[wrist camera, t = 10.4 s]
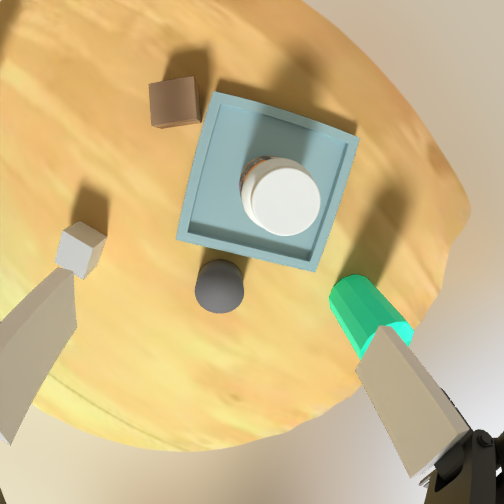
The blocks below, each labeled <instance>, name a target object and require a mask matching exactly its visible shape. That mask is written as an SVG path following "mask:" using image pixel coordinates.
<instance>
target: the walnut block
mask: <svg viewBox="0 0 504 504" xmlns="http://www.w3.org/2000/svg"><path fill="white" fill-rule="evenodd" d="M149 97H150V111H151V124H152V126H154V127H157V128H161V129H163V128H169V127H175V126H182V125H189V124H196V123H201V114H200V102H199V89H198V84H197V82H196V80H195V78H194V76H190V77H184V78H178V79H172V80H166V81H161V82H156V83H151V84H149Z"/></svg>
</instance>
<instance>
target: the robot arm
mask: <svg viewBox="0 0 504 504" xmlns="http://www.w3.org/2000/svg"><path fill="white" fill-rule="evenodd" d="M76 328H77V322H76V311H75V297H74V273H73V271H70V270H67V269H63V268H59V267H58V268H57V269H55V270H54V271H53V272H52V273H51V274H50V275H49V276H48V277H46V278H45V279H44V280H43V281H42V282H41V283H40V284H39V285H38V286H37V287H36V288H35V289H33V290H32V291H31V292H30V293H29V294H28V295H27V296H26V297H25V298H24V299H23V300H22V301H21V302H20V303H19V304H18V305H17V306H16V307H15V308H14V309H13V310H12V311H11V312H10V313H9V314H8V315H7V316H6V317H5V318H4V319H3V320H2V321H1V322H0V440H2V441H3V442H5V443H7V444H8V445H10V446H11V443H12V441H13V439H14V437H15V435H16V433H17V431H18V429H19V427H20V425H21V422H22V420H23V418H24V417H25V414H26V413H27V411H28V409H29V407H30V405H31V403H32V401H33V399H34V398H35V396H36V394H37V392H38V390H39V388H40V387H41V385H42V383H43V381H44V380H45V378H46V376H47V375H48V373H49V371H50V369H51V368H52V366H53V364H54V363H55V361H56V360H57V358H58V356H59V355H60V353H61V351H62V350H63V348H64V347H65V345H66V344H67V342H68V340H69V339H70V337H71V336H72V334H73V333H74V331H75V330H76ZM355 371H356V373H357V375H358V377H359V379H360V380H361V382H362V384H363V386H364V388H365V390H366V392H367V394H368V395H369V397H370V399H371V401H372V403H373V405H374V407H375V409H376V411H377V413H378V415H379V417H380V419H381V421H382V422H383V424H384V426H385V428H386V430H387V432H388V434H389V436H390V438H391V440H392V442H393V444H394V446H395V448H396V450H397V452H398V454H399V456H400V458H401V460H402V462H403V464H404V466H405V469H406V470H407V473H408V475H409V477H410V478H412V477H415V476H418V475H421V474H423V473H425V472H426V471H427V470H428V469H429V468H430V467H432V466H433V465H434V466H435V468H436V469H435V470H434V471H433V472H431V473H430V474H429V475H428V476H426V477H425V478H424V479H423V480H422V481H421V482H420V484H419V486H421V485H423V484H424V483H425V482H426V481H428V480H430V481H429V482H428V483H427V484H425V485H424V487H426V488H428V490H427V494H426V498H425V502H424V504H504V432H503V433H502V434H501V435H500V436H499V437H498V438H492V437H491V436H490V435H489V434H488V433H487V432H485V431H484V430H479V429H478V430H475V431H473V430H472V429H471V427H470V426H469V425H468V423H467V422H466V420H465V419H464V417H463V416H462V415H461V413H460V412H459V410H458V409H457V408H456V407H455V405H454V404H453V402H452V401H450V398H449V397H448V395H447V394H446V393H445V391H444V390H443V389H441V388H440V387H439V386H438V385H437V383H436V382H435V380H434V379H433V378H432V376H431V375H430V374H429V373H428V371H427V370H426V369H425V367H424V366H423V365H422V364H421V362H420V361H419V360H418V359H417V357H416V356H415V355H414V353H413V352H412V351H411V350H410V348H409V347H408V346H407V345H406V343H405V342H404V341H403V340H402V339H401V337H400V336H399V335H398V334H397V332H396V331H395V330H394V329H393V328H392V326H381V325H379V327H378V329H377V331H376V333H375V335H374V337H373V339H372V341H371V342H370V344H369V346H368V348H367V350H366V352H365V354H364V355H363V357H362V359H361V361H360V362H359V364H358V366H357V368H356V369H355ZM500 467H501V468H502V472H501V473H500V474H499V475H498V476H497V477H496V470H497V469H499V468H500ZM0 504H6V502H5V499H4V497H3V494H2V491H1V489H0Z"/></svg>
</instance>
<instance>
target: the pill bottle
mask: <svg viewBox="0 0 504 504" xmlns="http://www.w3.org/2000/svg"><path fill="white" fill-rule="evenodd" d="M239 191H240V196H241V200H242V205H243V208H244V210H245V212H246V214H247V216H248V217H249V218H250V219H251V220H252V221H253V222H254V223H256V224H257V225H259V226H260V227H262V228H264V229H266V230H267V231H269V232H271V233H273V234H276V235H280V236H290V235H295V234H298V233H300V232H302V231H304V230H305V229H307V228H308V227H309V226H310V225H311V224H312V223H313V222H314V220H315V219H316V217H317V215H318V213H319V210H320V204H321V198H320V192H319V189H318V186H317V184H316V183H315V181H314V180H313V179H312V177H311V175H310V173H309V172H308V171H307V169H306V168H304V167H303V166H302V165H301V164H299V163H298V162H296V161H293V160H291V159H287V158H281V157H277V156H271V155H266V156H260V157H258V158H255V159H254V160H252V161H250V162H249V163H248V164H247V165H246V166H245V168H244V169H243V171H242V173H241V175H240V179H239Z"/></svg>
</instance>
